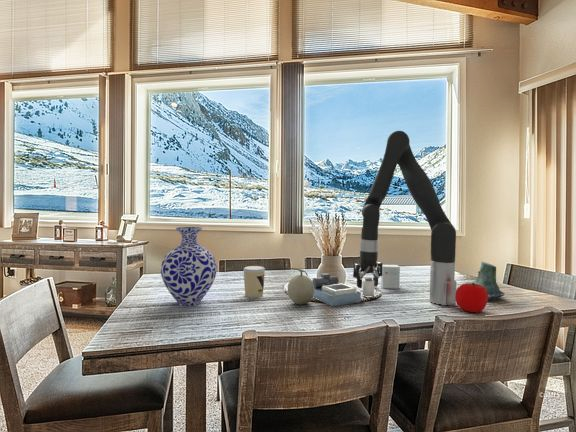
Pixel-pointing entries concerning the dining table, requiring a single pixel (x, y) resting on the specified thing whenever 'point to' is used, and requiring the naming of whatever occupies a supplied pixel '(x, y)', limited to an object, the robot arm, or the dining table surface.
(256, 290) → the coffee cup
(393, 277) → the small box
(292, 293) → the fruit
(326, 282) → the motor housing
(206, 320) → the dining table surface
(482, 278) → the tree stump
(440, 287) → the robot arm
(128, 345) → the dining table surface
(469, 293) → the tomato
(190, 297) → the vase
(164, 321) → the dining table surface
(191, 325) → the dining table surface
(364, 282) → the pump module
